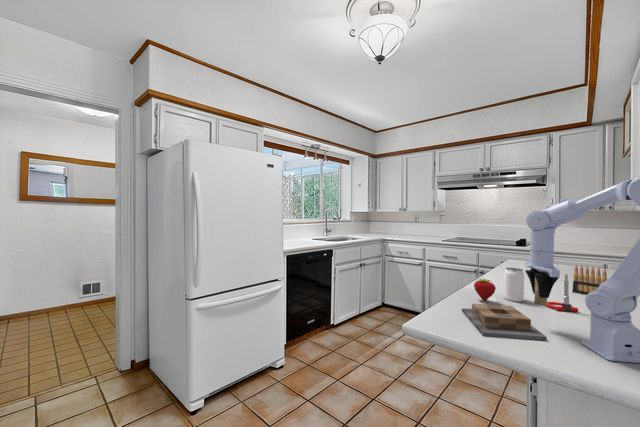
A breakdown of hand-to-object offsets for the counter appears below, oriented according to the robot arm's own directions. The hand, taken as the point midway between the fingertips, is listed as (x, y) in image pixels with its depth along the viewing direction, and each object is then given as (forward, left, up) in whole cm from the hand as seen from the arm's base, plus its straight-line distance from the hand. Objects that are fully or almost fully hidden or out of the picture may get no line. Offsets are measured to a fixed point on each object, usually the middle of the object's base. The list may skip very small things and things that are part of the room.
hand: (540, 295), depth 89 cm
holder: (0, +11, -9) cm, 15 cm away
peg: (0, 0, -2) cm, 2 cm away
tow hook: (+21, -17, -10) cm, 28 cm away
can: (+28, -5, -10) cm, 30 cm away
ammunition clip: (+41, -39, -10) cm, 57 cm away
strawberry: (+24, +7, -10) cm, 27 cm away
